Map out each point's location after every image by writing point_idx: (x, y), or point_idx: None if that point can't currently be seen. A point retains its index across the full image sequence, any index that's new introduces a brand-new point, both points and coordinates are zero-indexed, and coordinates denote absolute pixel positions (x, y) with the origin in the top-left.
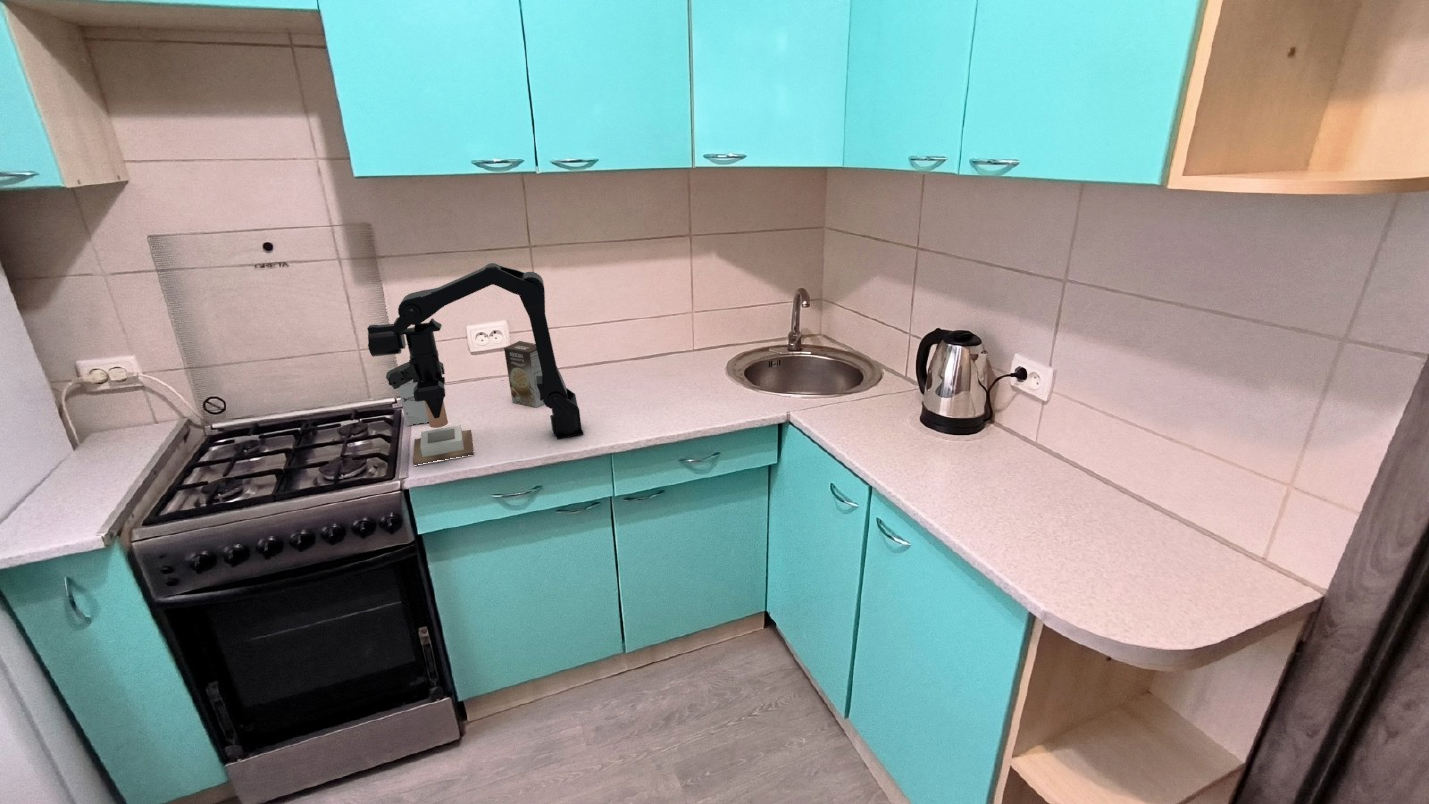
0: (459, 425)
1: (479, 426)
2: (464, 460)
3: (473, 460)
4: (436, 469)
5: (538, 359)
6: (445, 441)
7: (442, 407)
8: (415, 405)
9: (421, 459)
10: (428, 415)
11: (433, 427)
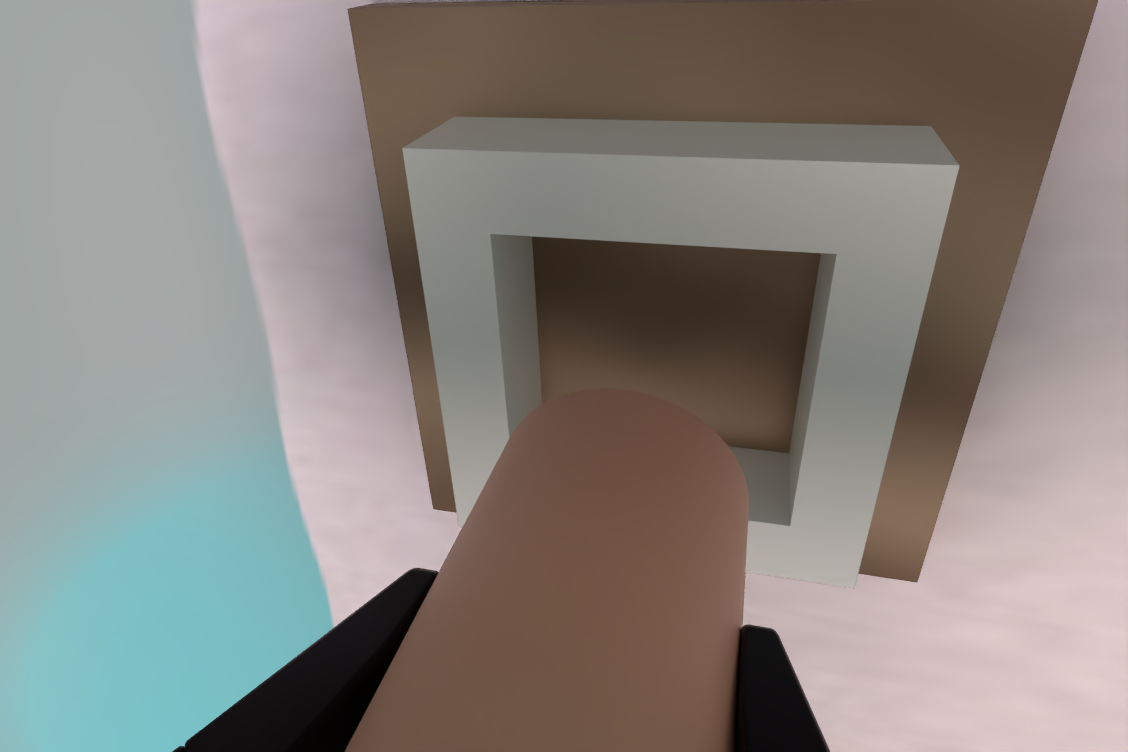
0: (852, 578)
1: (1034, 629)
2: (389, 421)
3: (374, 469)
4: (281, 218)
5: None
6: (481, 407)
7: None
8: None
9: (406, 104)
10: (494, 532)
11: (520, 424)
